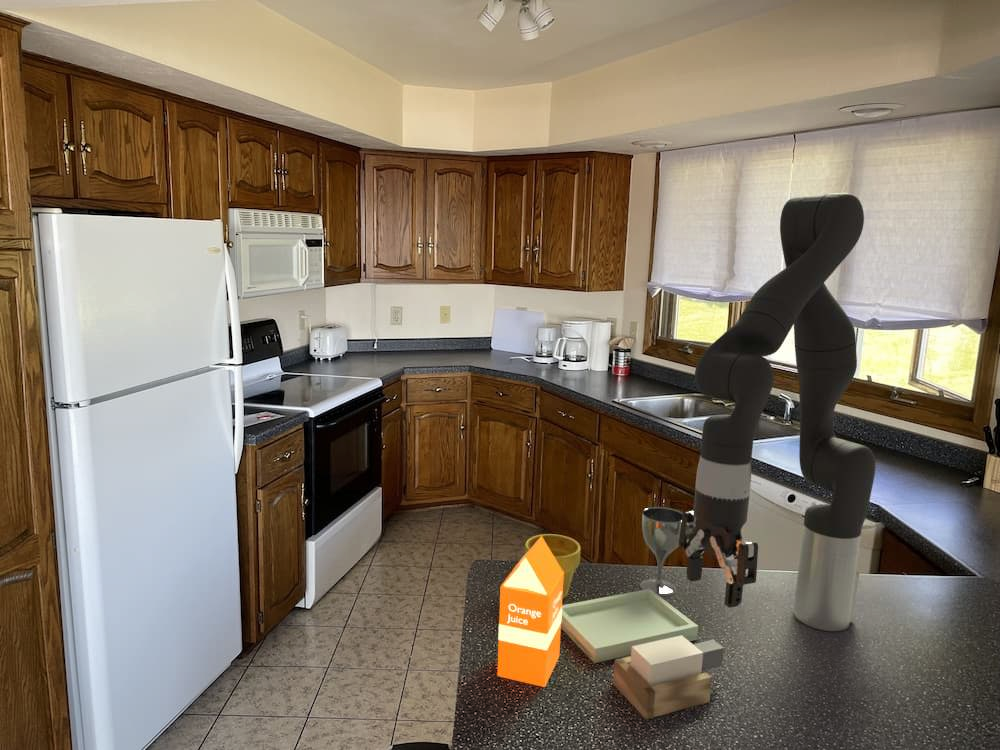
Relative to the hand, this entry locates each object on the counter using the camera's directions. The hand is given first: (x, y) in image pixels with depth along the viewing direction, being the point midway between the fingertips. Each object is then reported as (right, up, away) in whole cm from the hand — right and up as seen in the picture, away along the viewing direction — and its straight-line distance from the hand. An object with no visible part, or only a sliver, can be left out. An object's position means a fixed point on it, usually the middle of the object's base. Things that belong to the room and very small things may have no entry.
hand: (711, 592), depth 105 cm
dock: (-7, -15, 0) cm, 16 cm away
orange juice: (-27, -13, +5) cm, 31 cm away
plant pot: (-22, -9, +29) cm, 37 cm away
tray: (-10, -12, +17) cm, 23 cm away
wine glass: (-1, -9, +32) cm, 34 cm away
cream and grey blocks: (-5, -15, +1) cm, 16 cm away
